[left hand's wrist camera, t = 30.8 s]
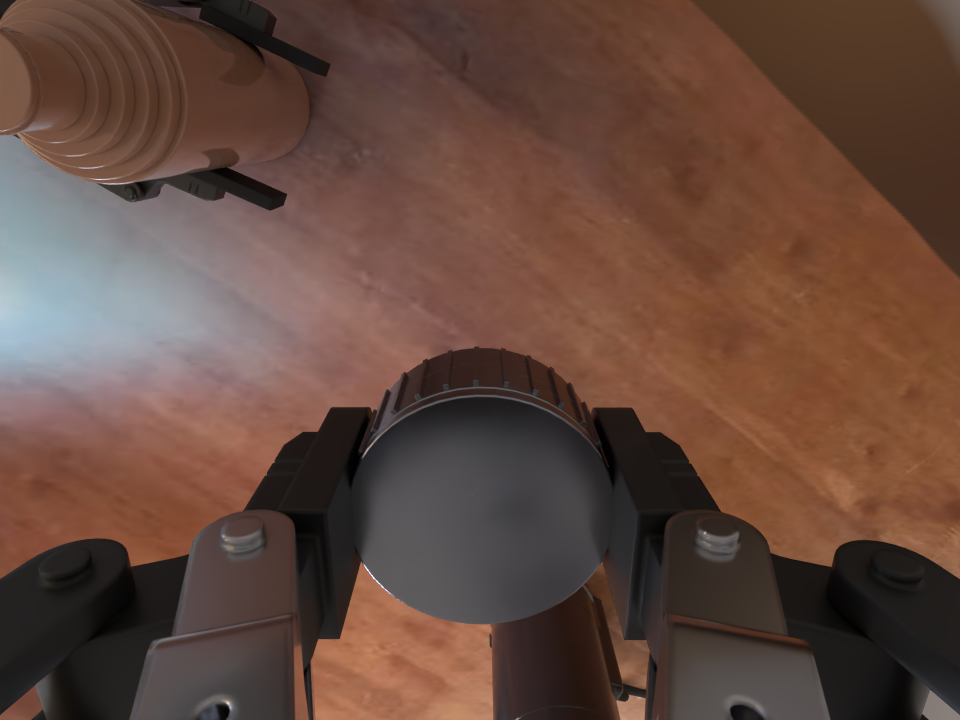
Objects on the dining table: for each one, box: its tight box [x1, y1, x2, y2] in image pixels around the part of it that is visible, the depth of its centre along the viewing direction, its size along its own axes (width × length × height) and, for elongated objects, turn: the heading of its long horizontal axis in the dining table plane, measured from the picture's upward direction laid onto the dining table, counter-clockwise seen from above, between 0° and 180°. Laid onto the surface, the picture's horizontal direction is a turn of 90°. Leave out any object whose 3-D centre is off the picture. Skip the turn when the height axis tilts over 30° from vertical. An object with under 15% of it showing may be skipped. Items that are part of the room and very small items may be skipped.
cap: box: [350, 347, 613, 624], centre depth 11 cm, size 4×4×2 cm
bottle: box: [0, 0, 310, 185], centre depth 30 cm, size 7×7×24 cm
